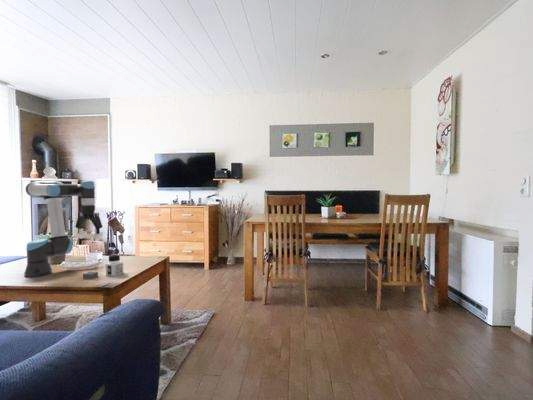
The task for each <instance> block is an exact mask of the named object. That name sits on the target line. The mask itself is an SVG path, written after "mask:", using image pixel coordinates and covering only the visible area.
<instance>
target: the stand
mask: <svg viewBox="0 0 533 400" xmlns="http://www.w3.org/2000/svg"><path fill="white" fill-rule="evenodd" d="M97 277H99V272H98V271H89V272H84V273H82V280H92V279H95V278H97Z"/></svg>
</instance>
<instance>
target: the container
mask: <svg viewBox="0 0 533 400" xmlns="http://www.w3.org/2000/svg"><path fill="white" fill-rule="evenodd" d="M123 273H124V261H121V256H120V255H119V254H110V255H109V256H108V263H105V275H106V276H108V277H109V276H111V277H117V276H119V275H121V274H123Z"/></svg>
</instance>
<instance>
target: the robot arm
mask: <svg viewBox="0 0 533 400" xmlns="http://www.w3.org/2000/svg"><path fill="white" fill-rule="evenodd" d="M95 189H96V188H95V181H93V180H82V181H80V184H78V183H74V184H73V183H72V184H69V183H66V184H65V183H63V182H61V181H55V180H52V181H51V180H50V181H49V180H45V181H44V180H36V181H35V180H34V181H31V182H29V183H28V184H26V186H25V193H26V194H27V195H29V196H30V197H33V198H43V200H44V201H43V202H46V205H47V213H48V221H49V228H50V236H49V237H48V238H41V239H40V238H39V239H34V240H31V241H29V242H27V244H26V267H25V270H24V275H23V276H24V277H25V276H27V277H26V278H33V277H32V276H37V277H42V276H47V275H50V274H52V273H53V269H52V267H51V264H50V261H49V258H51V257H52V258H53V257H56V256H64V255H68V254H70V253H71V252H72V250H73V247H74V242H73V239H72V237H69V234H67V233H66V227H65V220H64V212H63V204H62V201H63V200H64V198H65V197H78V196H79V197H80V199H81V202H80V203H81V211H82V212H78V213H77V219H76V223H75V226H74V227H75V228H76V229H78V233H77V234H79V233H85V232H84V228H83V227H84V226H85V224H86V221H88V220H90V221H91V223H92V225H93V227H94V232H95V237H94V240H99V239H100V236H99V234H100V232H101V231H100V229H102V228H103V224H102V220H101V219H100V218H101V217H100V213H99V212H95V211H96V206H95V204H96V195H95V194H96V193H95ZM78 239H80V240H81V239H84V238H78Z"/></svg>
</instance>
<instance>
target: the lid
mask: <svg viewBox="0 0 533 400" xmlns="http://www.w3.org/2000/svg"><path fill="white" fill-rule="evenodd" d="M102 236H104V235H103V231H100V234H99V237H102ZM74 238H75V239H79V238H83V239H92V238H95V231H92V230H90V229H89V230H86V231H85V232H84V233H75V234H74Z"/></svg>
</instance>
